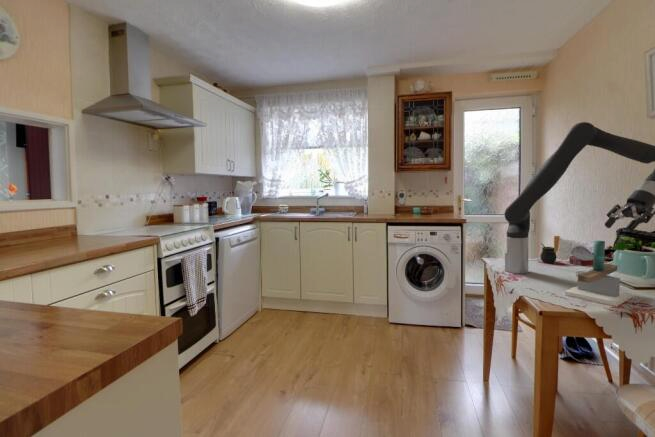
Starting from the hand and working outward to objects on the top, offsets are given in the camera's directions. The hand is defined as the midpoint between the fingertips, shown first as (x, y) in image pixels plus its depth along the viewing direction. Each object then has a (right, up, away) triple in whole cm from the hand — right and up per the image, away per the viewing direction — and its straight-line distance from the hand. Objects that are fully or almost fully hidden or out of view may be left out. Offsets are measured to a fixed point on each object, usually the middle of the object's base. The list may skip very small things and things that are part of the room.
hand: (617, 228), depth 126 cm
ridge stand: (-6, -26, +1) cm, 26 cm away
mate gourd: (+8, -20, +52) cm, 56 cm away
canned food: (+21, -20, +46) cm, 54 cm away
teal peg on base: (-7, -18, 0) cm, 19 cm away
